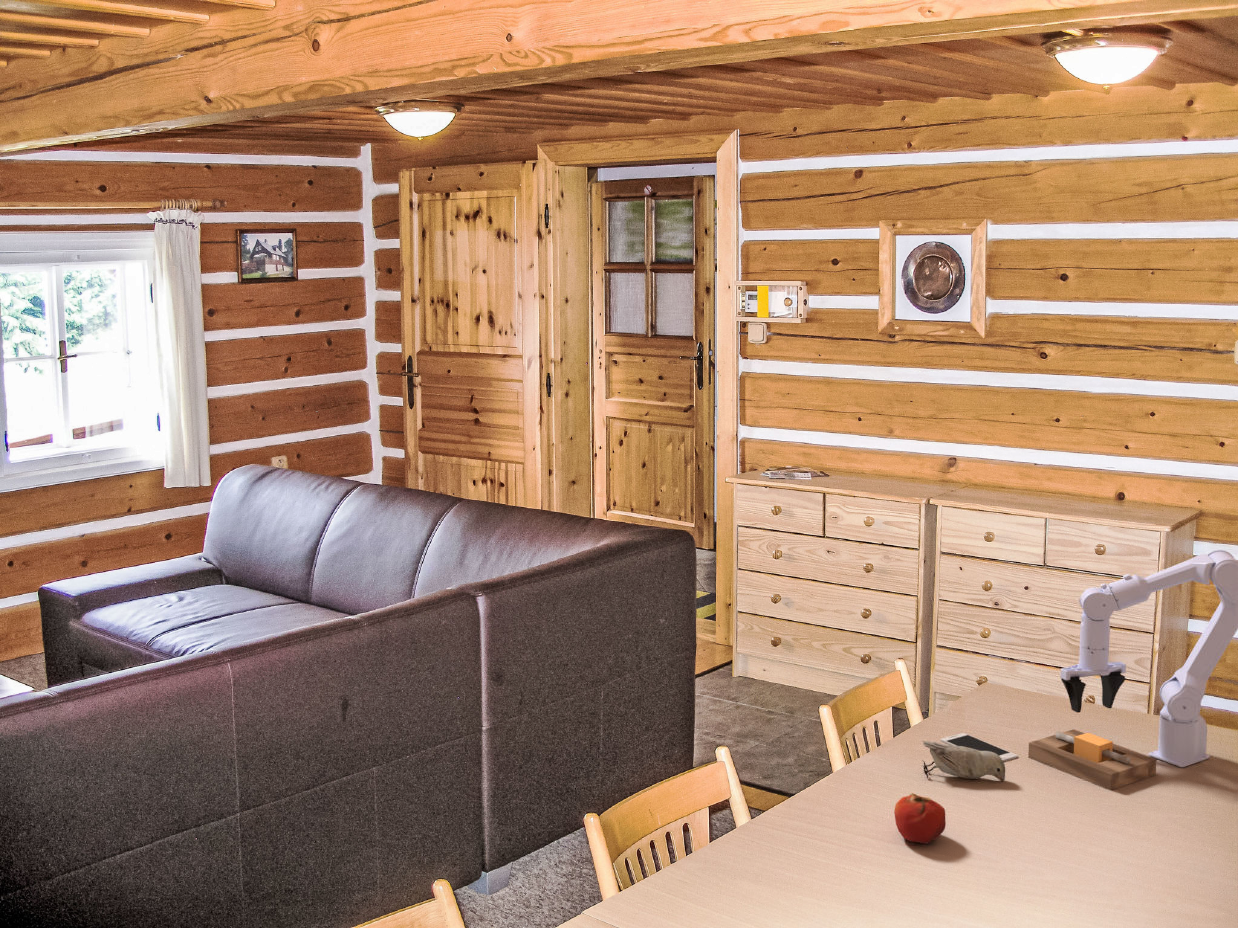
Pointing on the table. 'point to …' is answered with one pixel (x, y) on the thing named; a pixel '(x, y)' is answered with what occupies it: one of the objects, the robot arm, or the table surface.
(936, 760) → the decorative bird
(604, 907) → the table surface
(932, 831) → the tomato
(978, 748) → the smartphone
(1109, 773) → the wooden slotted rail base
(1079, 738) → the orange notched block
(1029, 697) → the table surface
